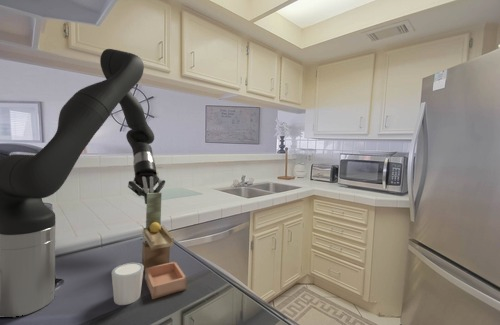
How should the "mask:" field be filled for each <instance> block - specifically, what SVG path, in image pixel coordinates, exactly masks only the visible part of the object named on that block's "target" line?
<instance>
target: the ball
mask: <svg viewBox="0 0 500 325" xmlns="http://www.w3.org/2000/svg"><path fill="white" fill-rule="evenodd" d="M160 227H161V226H160V224H159V223H157V222H154V223H152V224H151V225H150V231H151V232H153V233H156V232H158V231H159V230H160Z"/></svg>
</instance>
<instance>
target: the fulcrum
mask: <svg viewBox="0 0 500 325" xmlns="http://www.w3.org/2000/svg"><path fill="white" fill-rule="evenodd" d="M170 247H171V246H169V247H163V248H158V249H153V250H151V248H150V247H149V245H148V243H147V241H146V240H144V241H143V242H142V249H141V250H142V256H141V257H142V258H141V259H142V260H141V264H142V265H143V266H144V270H143V272H145V268H148V267H153V266H157V265H162V264H166V263H170V254H171V253H170V249H171V248H170Z"/></svg>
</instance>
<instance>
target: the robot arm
mask: <svg viewBox="0 0 500 325" xmlns="http://www.w3.org/2000/svg"><path fill="white" fill-rule="evenodd" d="M99 60H100V61H99V62H100V68H101V70H102V73H103V76H104V78H105V79H104V80H102V81H99V82H95V83H93V84H90V85H86V86H85V87H82V88H81V89H79V90H77V91H76V92H75V93H74V94H73V95H72V96H71V97H70V98H69V99H68V101H66V103H65V104H63V106H62V107H61V109H60V111H59V114H58V120H57V130H56V132H55V134H54V135H53V137H52V138H51V139H50V140H49V141H48V142H47V144H46V145H45V146H44V147H43V148H42V149H41V150H39V151H38V152H37V153H35V154H34V155H33V154H9V155H6V156H4V157H2V158H0V316H4V317H13V318H17V317H16V316H19V317H23V316H26V315H29V314H31V313H32V314H33V313H35V312H36V311H38V310H41V309H43V308H45V307H46V306H48V305H49V304H51V302H53V300H54V298H55V291H56V290H55V289H56V285H55V284H56V282H55V281H56V214H55V211H53V210H52V209H50V208H49V207H48V206H47V205H46V204H45V203H44V201H43V199H44V198H49V197H50V196H52V195H54V194H55V193H57V192H58V190H60V189H61V188H62V186H63V185H64V184H65V182H66V181H67V179H68V177H69V175H70V174H71V172H72V170H73V168H74V167H75V165H76V163H77V161H79V160H78V159H79V158H80V156H81V155H82V153H83V152H84V151H85V149H86V147H87V146H88V145H89V143H90V142H91V140H92V139H93V137H94V136H95V135H96V133H97V132H99V130H100V129H101V127H103V125H104V124H105V122H106V121H107V120H108V118H109V117H110V115H111V114H112V112H113V111H114V110H115V109H116V108H117V106H118V104H119V105H120V107H121V110H122V112H123V115H124V116H123V117H124V119H125V122H126V125H127V127H128V128H129V130H128V131H127V132H126V136H125V137H126V140H127V142H128V144H129V146H130V147H131V149H132V154H133V164H132V165H133V172H134V177H133V180H129V181H128V183H127V184H128V185H127V188H129V189H130V190H131V191H132V192H133V193H135V194H136V195H137V196H138V197H141V196H142V197H143V198H144V204H145V205H147V193H161V192H160V191H161V190H162V189H163V188H164V187H165V184H166V180H164V179H163V180H162V179H160V177H159V176H158V172H157V168H156V162H155V158H154V155H153V154H154V153H153V149H152V147H151V144H152V143H153V142H154V140H155V133H154V132H153V130H152V129H151V127H150V126H149V124H148V122H147V119H146V115H145V111H144V108H143V106H142V104H141V103H140V102H139V100H138V99H137V98H136V97H135V96H134V94H133V93H132V92H131V90H133V88H134V87H135V86H136V85H137V84H138V83H139V82H140V81H141V79H142V77H143V75H144V68H145V65H144V61H143V60H142V58H141V57H140V56H139V55H136V54H135V53H131V52H127V51H123V50H120V49H119V50H118V49H113V48H107V49H105V50H103V52H102V53H101V54H100V59H99ZM156 185H157V187H156ZM154 188H155V189H154ZM22 315H23V316H22Z"/></svg>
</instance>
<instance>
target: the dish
mask: <svg viewBox="0 0 500 325" xmlns="http://www.w3.org/2000/svg"><path fill="white" fill-rule="evenodd" d="M187 279H188V278H187V276H186V274H184V272H183V270H182V269H181V268H180V266H179V264H178V263H177V261H171V262H169V263H166V264H162V265H157V266H153V267H148V268H145V271H144V280H145V283H146V286H147V289H148V291H149V294H150V296H151V300H155V299H157V298H161V297H165V296H168V295H169V296H170V295H172V294H175V293H178V292H181V291H185V290H187V281H188V280H187Z"/></svg>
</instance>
